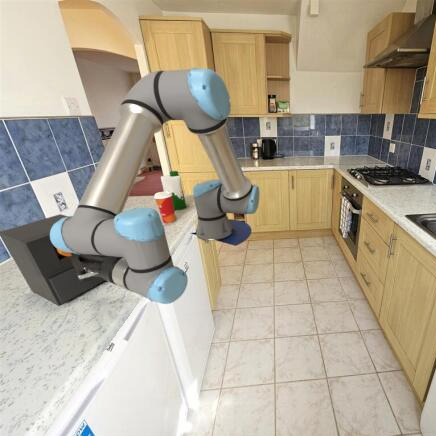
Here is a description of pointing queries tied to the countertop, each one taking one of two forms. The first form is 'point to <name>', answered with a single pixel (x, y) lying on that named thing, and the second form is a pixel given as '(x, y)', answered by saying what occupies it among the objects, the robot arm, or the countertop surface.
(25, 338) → the countertop surface
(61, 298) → the pull-out fryer drawer
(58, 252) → the button
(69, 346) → the countertop surface
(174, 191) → the milk carton
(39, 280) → the fryer base
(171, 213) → the paper cup
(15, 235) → the panel
